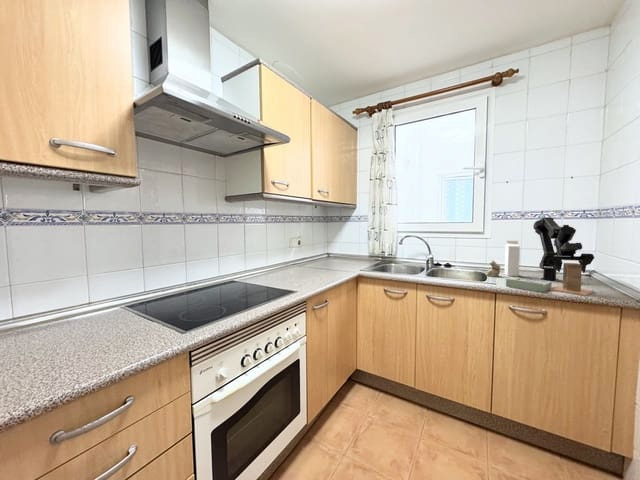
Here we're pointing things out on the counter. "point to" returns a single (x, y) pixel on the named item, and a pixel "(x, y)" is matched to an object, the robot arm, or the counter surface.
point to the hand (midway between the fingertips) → (571, 272)
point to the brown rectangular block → (572, 276)
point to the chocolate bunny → (493, 270)
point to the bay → (528, 285)
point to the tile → (583, 291)
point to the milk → (512, 258)
